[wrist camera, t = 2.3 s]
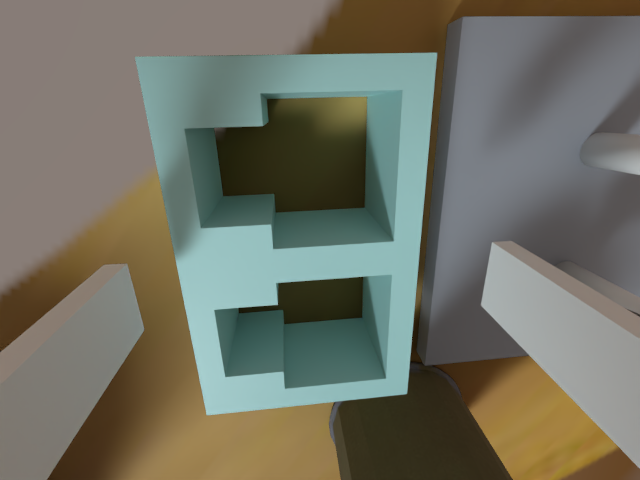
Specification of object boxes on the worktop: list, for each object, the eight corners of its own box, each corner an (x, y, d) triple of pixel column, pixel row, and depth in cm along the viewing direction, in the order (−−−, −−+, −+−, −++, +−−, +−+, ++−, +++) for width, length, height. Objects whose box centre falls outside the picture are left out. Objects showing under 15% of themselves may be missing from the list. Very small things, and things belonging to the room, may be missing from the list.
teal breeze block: (224, 344, 22) (206, 415, 17) (181, 74, 16) (134, 56, 11) (379, 331, 23) (407, 393, 18) (390, 70, 17) (437, 52, 12)
